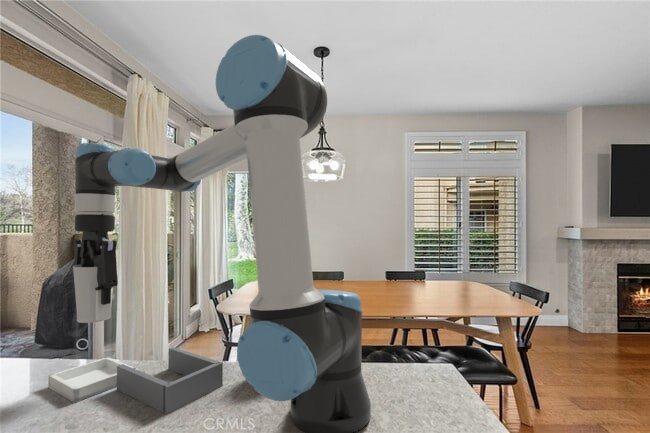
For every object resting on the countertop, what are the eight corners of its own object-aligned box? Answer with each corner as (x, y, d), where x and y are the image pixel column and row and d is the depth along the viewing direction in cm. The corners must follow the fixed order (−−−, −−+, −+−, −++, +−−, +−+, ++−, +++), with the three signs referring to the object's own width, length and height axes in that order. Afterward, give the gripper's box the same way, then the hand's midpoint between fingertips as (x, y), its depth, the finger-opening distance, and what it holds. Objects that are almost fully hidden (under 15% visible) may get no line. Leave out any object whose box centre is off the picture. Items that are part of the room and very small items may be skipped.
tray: (135, 379, 80) (135, 368, 80) (74, 403, 69) (74, 389, 69) (107, 367, 86) (107, 356, 86) (48, 387, 76) (48, 375, 76)
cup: (94, 325, 73) (94, 267, 73) (62, 322, 75) (63, 266, 75) (123, 315, 81) (123, 263, 81) (94, 313, 83) (94, 262, 83)
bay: (222, 385, 77) (222, 362, 77) (166, 414, 65) (167, 387, 65) (172, 367, 86) (173, 347, 86) (116, 389, 75) (116, 366, 75)
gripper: (137, 213, 76) (136, 319, 76) (91, 214, 87) (90, 306, 86) (100, 213, 70) (98, 328, 69) (55, 213, 80) (54, 313, 80)
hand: (94, 316), depth 78 cm, fingers closed on cup, 7 cm apart
